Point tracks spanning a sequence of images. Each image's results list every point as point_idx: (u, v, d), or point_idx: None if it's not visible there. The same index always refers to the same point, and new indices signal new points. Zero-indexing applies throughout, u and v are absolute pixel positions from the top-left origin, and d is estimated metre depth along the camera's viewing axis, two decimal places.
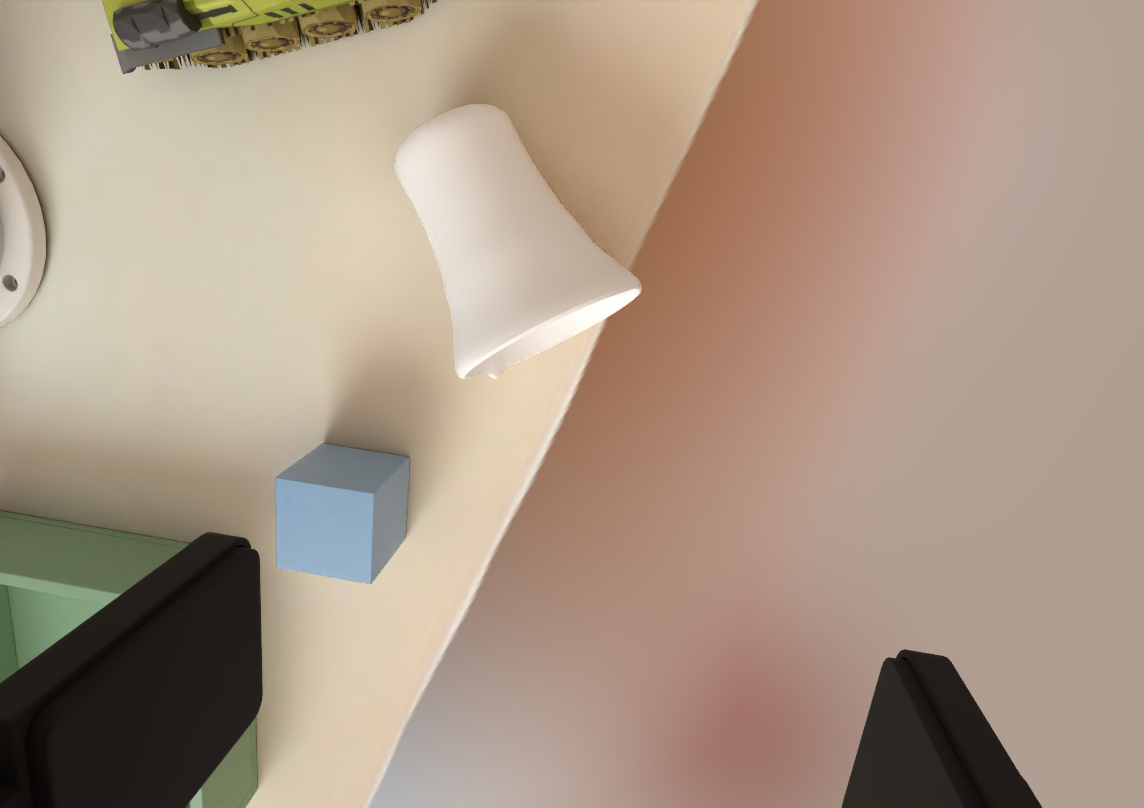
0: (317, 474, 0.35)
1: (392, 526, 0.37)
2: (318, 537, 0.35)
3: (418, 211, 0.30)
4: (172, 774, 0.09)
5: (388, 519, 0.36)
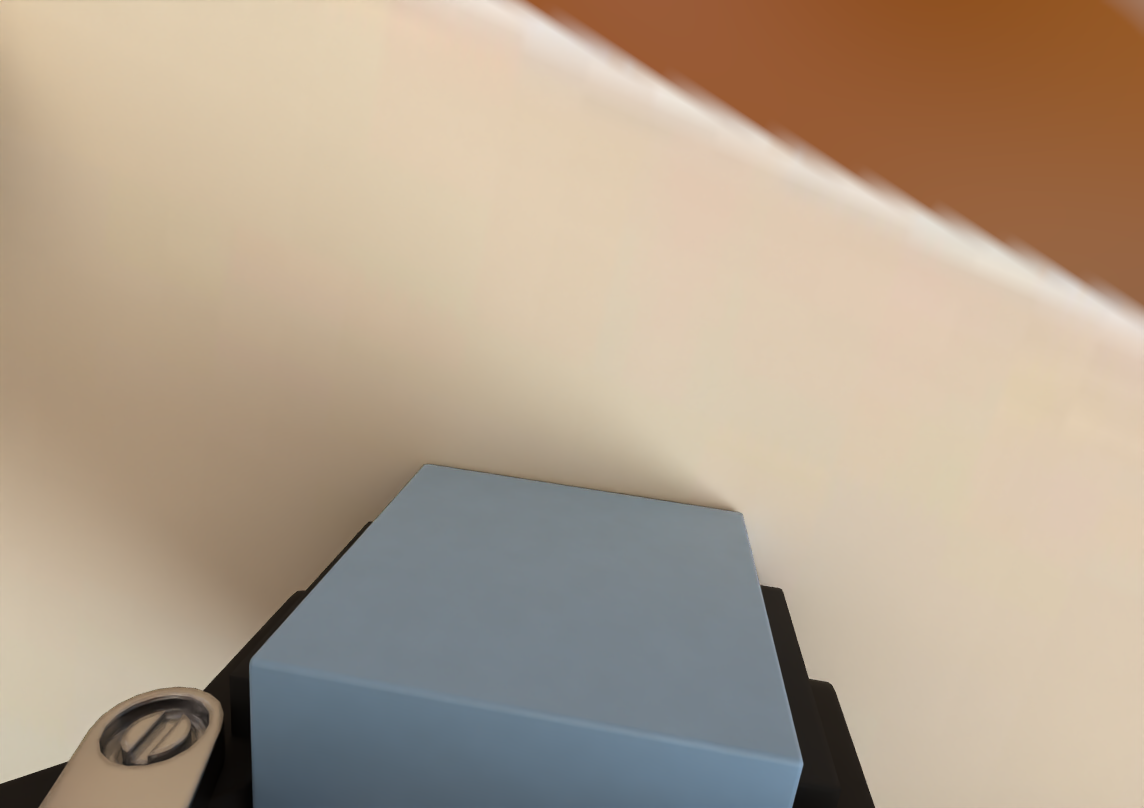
0: None
1: (607, 565, 0.09)
2: None
3: None
4: None
5: (540, 584, 0.08)
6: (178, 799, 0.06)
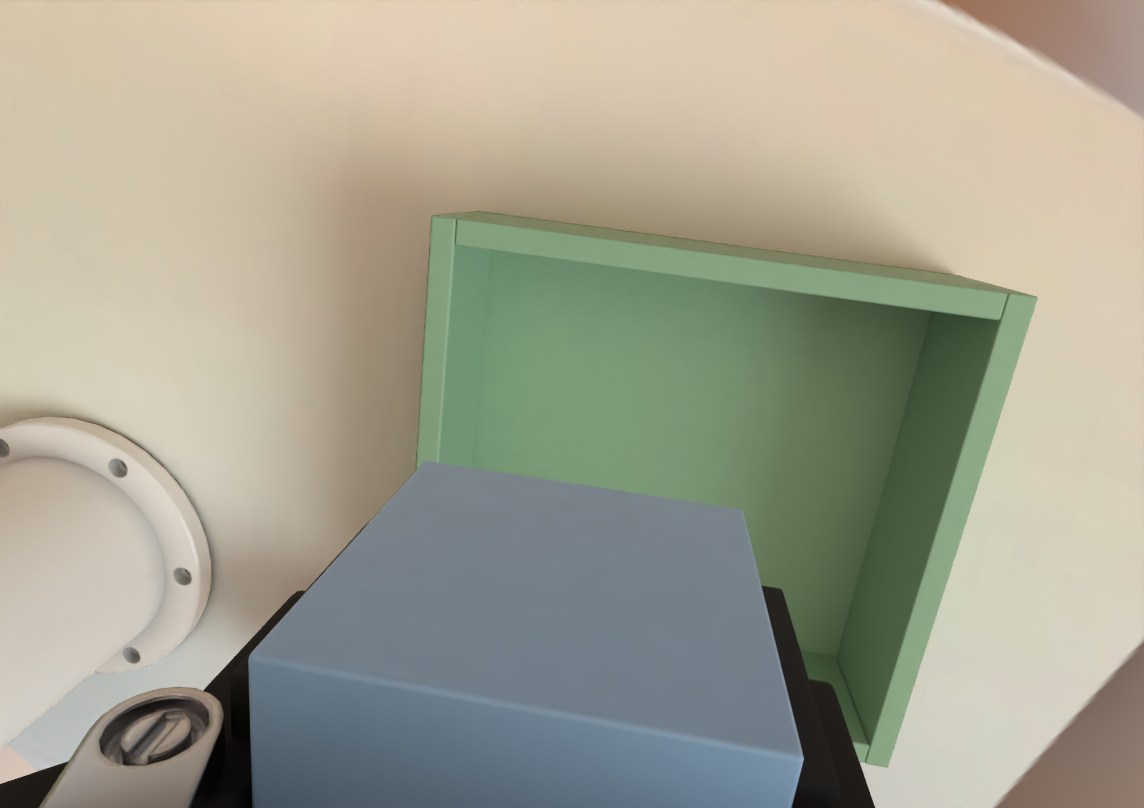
0: None
1: (608, 562, 0.09)
2: None
3: None
4: None
5: (540, 579, 0.08)
6: (178, 799, 0.06)
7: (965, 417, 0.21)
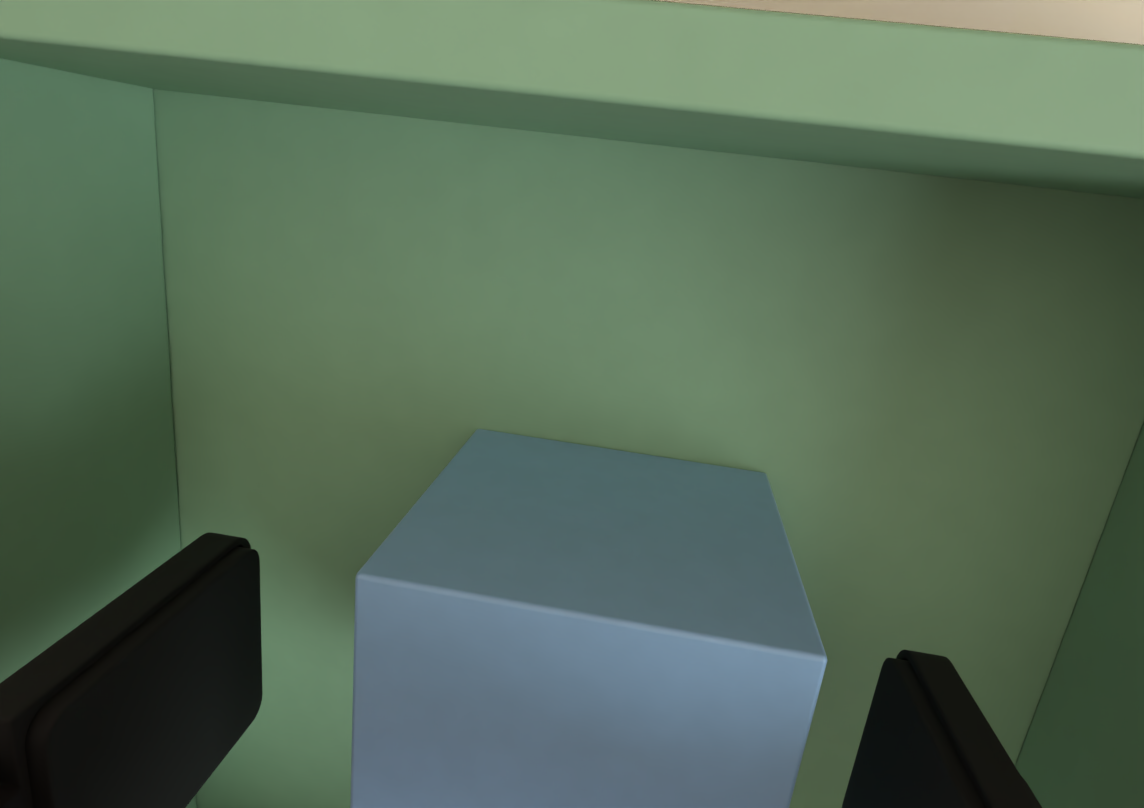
0: None
1: (650, 511, 0.10)
2: None
3: None
4: (172, 774, 0.09)
5: (592, 524, 0.09)
6: None
7: None
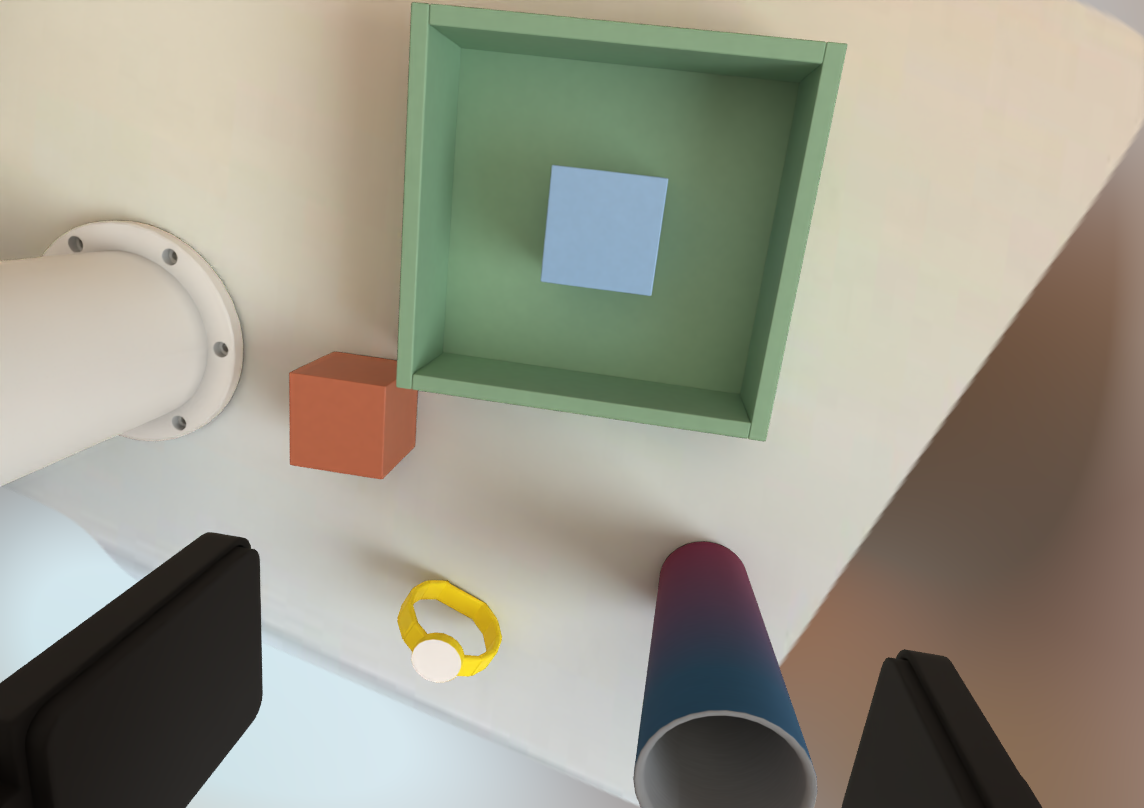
0: None
1: None
2: (610, 238, 0.31)
3: None
4: (172, 774, 0.09)
5: None
6: None
7: (804, 145, 0.29)
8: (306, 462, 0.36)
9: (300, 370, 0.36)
